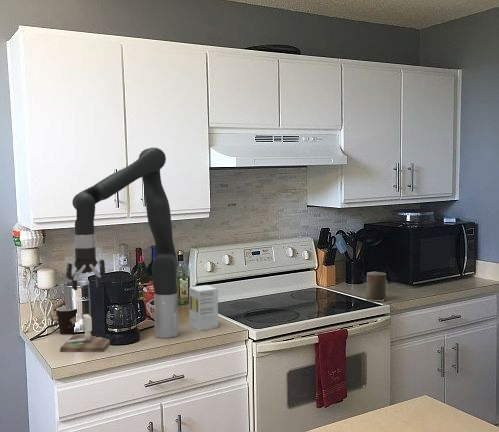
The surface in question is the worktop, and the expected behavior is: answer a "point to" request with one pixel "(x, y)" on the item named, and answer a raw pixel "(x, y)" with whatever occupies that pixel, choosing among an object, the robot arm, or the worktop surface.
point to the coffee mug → (66, 320)
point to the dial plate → (86, 344)
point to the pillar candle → (376, 286)
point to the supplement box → (203, 307)
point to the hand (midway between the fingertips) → (86, 288)
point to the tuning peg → (87, 326)
